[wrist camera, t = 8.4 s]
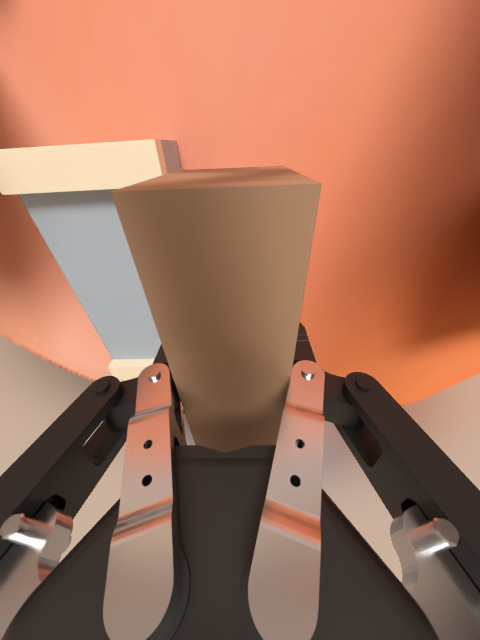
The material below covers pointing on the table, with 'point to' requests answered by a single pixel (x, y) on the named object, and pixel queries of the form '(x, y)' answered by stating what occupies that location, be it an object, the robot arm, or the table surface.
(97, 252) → the blue and cream box
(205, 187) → the brown block
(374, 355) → the table surface
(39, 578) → the robot arm
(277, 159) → the table surface
